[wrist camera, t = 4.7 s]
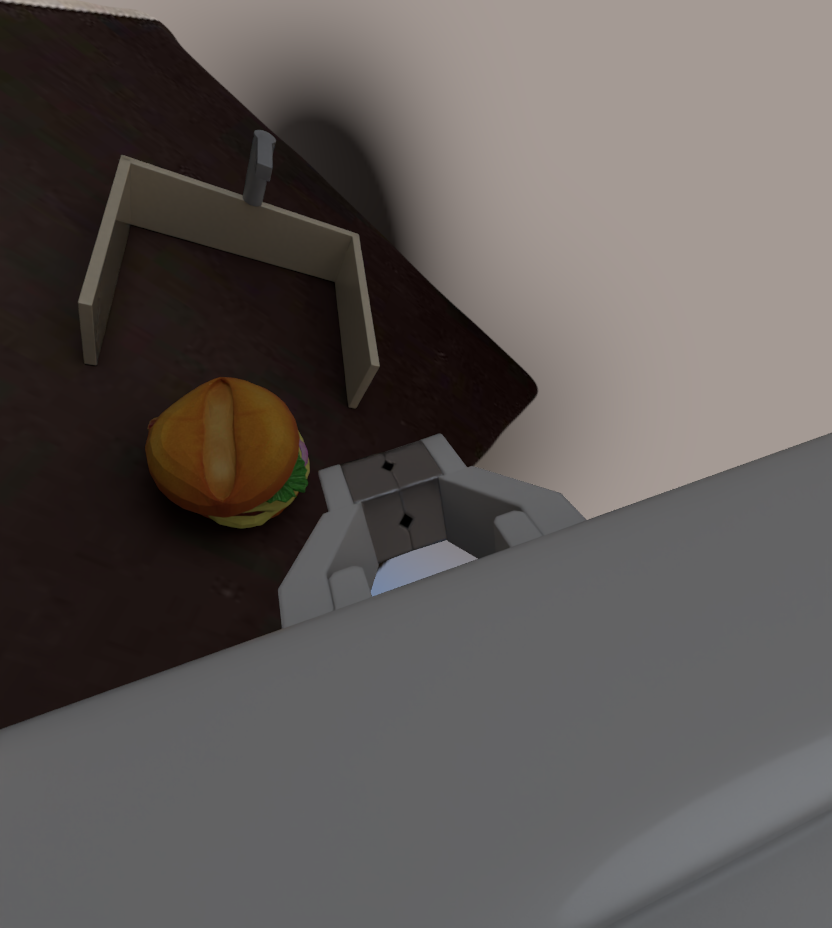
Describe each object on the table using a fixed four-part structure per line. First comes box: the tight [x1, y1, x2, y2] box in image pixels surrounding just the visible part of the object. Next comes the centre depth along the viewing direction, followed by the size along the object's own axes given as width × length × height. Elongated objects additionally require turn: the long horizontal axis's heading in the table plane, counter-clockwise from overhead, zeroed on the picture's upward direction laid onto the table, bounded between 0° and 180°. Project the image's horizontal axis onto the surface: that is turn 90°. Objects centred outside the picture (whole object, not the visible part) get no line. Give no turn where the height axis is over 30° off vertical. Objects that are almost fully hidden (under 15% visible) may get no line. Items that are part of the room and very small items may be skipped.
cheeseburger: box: [145, 377, 310, 528], centre depth 34 cm, size 10×11×10 cm
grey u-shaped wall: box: [78, 130, 379, 408], centre depth 42 cm, size 19×22×12 cm
